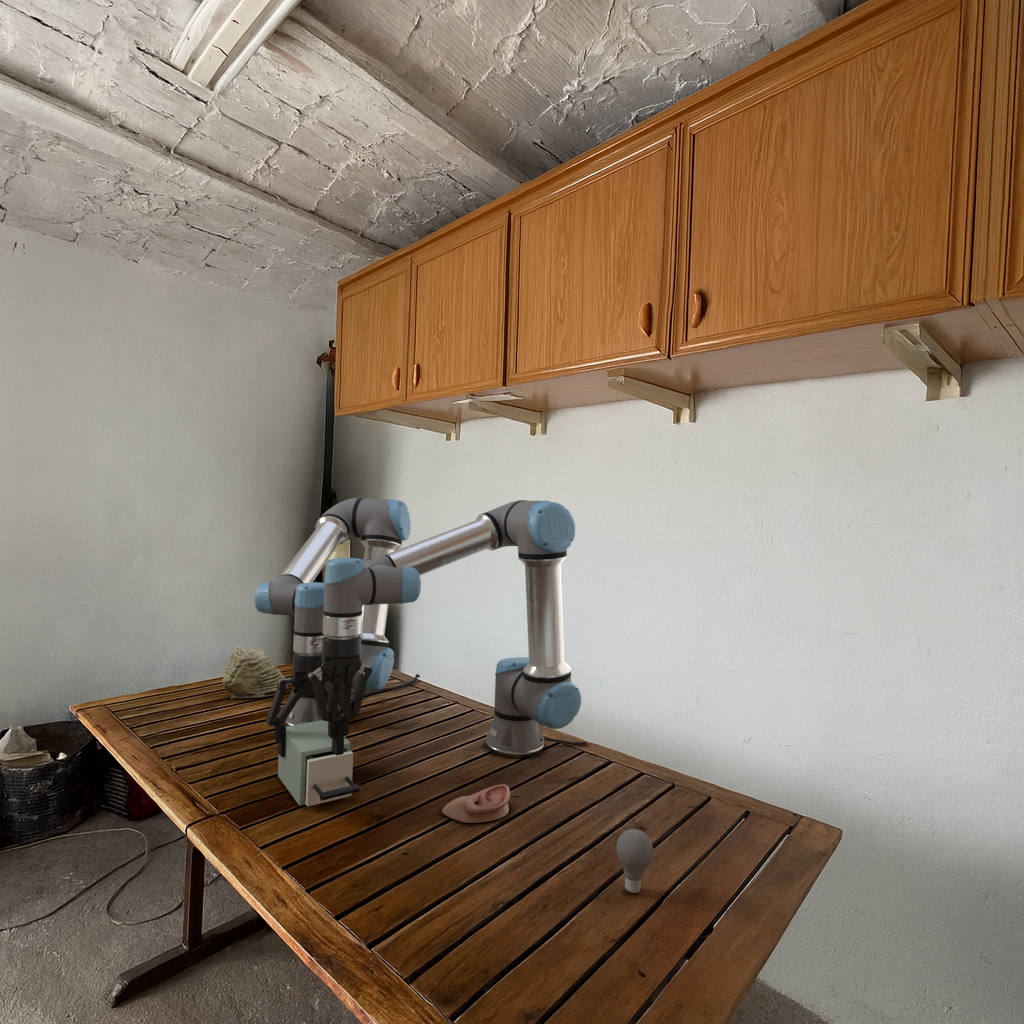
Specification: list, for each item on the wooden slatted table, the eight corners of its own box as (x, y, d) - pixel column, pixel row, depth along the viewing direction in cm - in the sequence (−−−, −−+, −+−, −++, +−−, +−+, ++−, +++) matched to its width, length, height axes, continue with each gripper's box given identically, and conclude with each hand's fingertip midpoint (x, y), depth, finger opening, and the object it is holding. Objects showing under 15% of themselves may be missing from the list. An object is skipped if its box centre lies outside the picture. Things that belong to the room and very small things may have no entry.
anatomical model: (437, 799, 126) (454, 775, 137) (436, 818, 126) (453, 793, 138) (502, 808, 124) (514, 783, 135) (501, 828, 124) (513, 801, 135)
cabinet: (348, 794, 136) (350, 742, 135) (299, 806, 129) (301, 752, 129) (323, 766, 149) (325, 719, 148) (277, 776, 143) (279, 727, 142)
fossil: (218, 695, 195) (220, 647, 195) (278, 685, 208) (279, 640, 207) (228, 703, 189) (230, 653, 188) (289, 692, 201) (290, 645, 201)
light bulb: (610, 879, 108) (613, 822, 108) (644, 879, 109) (647, 822, 109) (619, 902, 102) (622, 840, 102) (655, 901, 103) (658, 840, 103)
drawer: (362, 807, 128) (364, 763, 128) (317, 819, 122) (318, 773, 122) (327, 769, 145) (329, 730, 145) (286, 778, 139) (287, 737, 139)
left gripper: (261, 661, 132) (257, 766, 133) (365, 650, 146) (362, 745, 146) (252, 653, 139) (249, 754, 139) (353, 643, 152) (350, 735, 152)
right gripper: (315, 642, 120) (311, 766, 120) (380, 636, 127) (375, 752, 128) (303, 634, 126) (299, 752, 126) (365, 629, 133) (361, 740, 134)
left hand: (307, 749), depth 143 cm, fingers closed on cabinet, 10 cm apart
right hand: (337, 752), depth 127 cm, fingers closed
